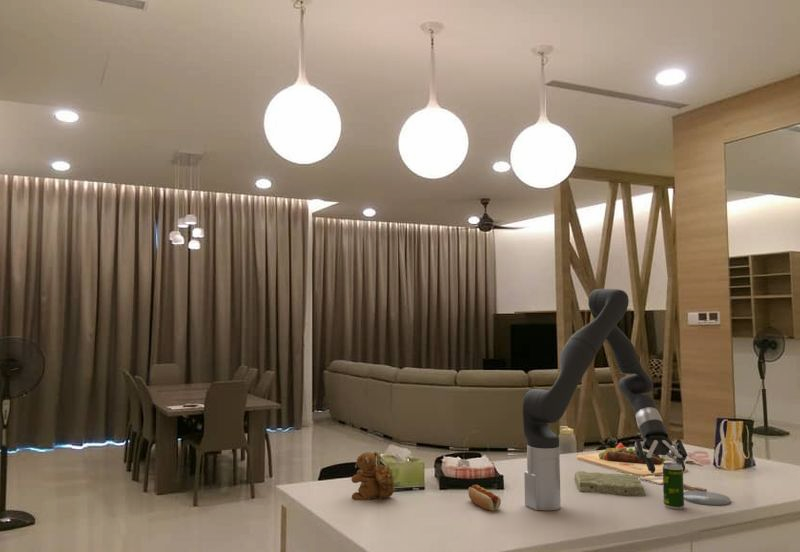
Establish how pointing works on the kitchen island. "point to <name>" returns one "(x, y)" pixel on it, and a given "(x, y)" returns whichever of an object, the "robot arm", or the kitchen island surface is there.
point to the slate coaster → (706, 498)
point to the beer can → (673, 485)
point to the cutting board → (625, 461)
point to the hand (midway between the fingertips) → (668, 471)
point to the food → (484, 498)
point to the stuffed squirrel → (372, 479)
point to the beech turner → (660, 481)
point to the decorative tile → (609, 483)
